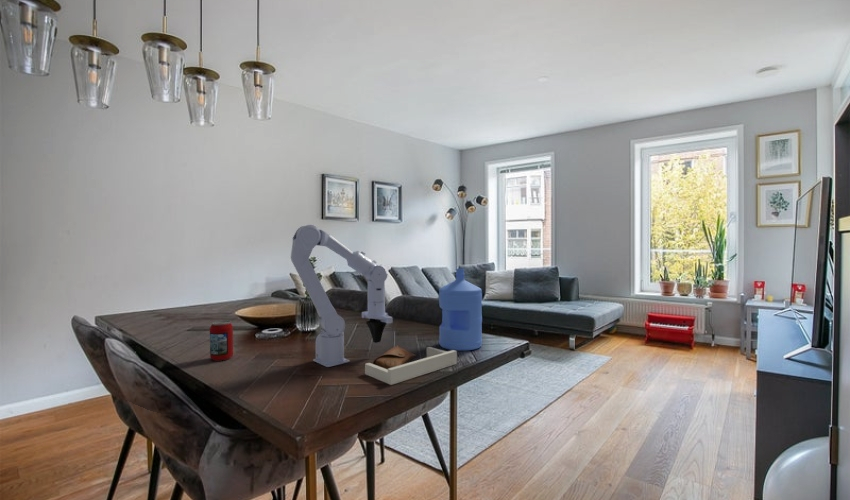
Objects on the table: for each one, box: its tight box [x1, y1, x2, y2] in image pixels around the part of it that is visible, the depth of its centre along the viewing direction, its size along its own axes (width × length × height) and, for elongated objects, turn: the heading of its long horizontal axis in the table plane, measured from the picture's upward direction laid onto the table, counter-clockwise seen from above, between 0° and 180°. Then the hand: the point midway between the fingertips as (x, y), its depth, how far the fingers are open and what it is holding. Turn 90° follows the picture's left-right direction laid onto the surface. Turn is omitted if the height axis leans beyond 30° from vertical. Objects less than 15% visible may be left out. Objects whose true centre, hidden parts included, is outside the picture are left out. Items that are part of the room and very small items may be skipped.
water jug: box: [438, 268, 483, 352], centre depth 145 cm, size 16×16×28 cm
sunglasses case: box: [372, 344, 417, 370], centre depth 126 cm, size 18×7×7 cm
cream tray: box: [364, 346, 458, 386], centre depth 120 cm, size 12×26×4 cm, turn 133°
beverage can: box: [209, 320, 234, 362], centre depth 131 cm, size 7×7×12 cm
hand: (376, 341), depth 133 cm, fingers closed
